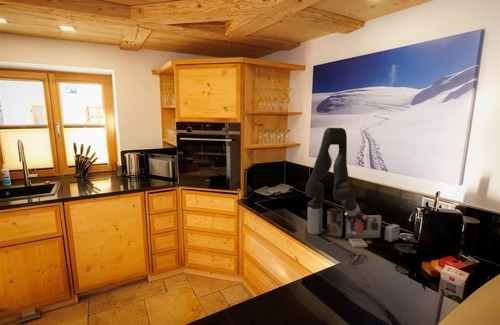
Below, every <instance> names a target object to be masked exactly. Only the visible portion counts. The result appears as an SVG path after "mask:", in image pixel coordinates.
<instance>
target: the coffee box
mask: <svg viewBox="0 0 500 325" xmlns="http://www.w3.org/2000/svg"><path fill="white" fill-rule="evenodd" d="M343 209H344V208H343ZM343 209H341V208H331V207H328V209H327V211H326V213H327V214H326V215H327V216H326V221H327V222H326V235H328V236H334V237H335V236H336V237H342V235H343V216H344V215H343V213H344V212H343Z"/></svg>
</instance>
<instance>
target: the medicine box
mask: <svg viewBox="0 0 500 325" xmlns="http://www.w3.org/2000/svg"><path fill="white" fill-rule="evenodd" d="M400 228H401V226H400V225H399V224H396V223H392V224H389V225H386V226H384V240H385V241H388V242H390V243H392V242H394V241H398V240H399V239H400V230H401V229H400Z"/></svg>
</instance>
